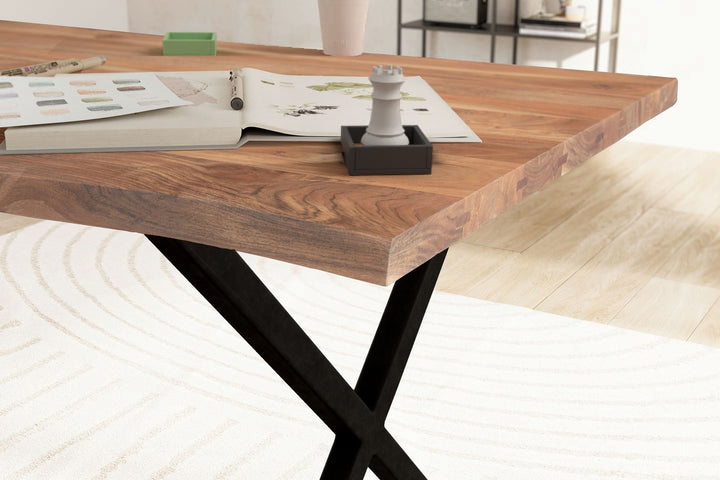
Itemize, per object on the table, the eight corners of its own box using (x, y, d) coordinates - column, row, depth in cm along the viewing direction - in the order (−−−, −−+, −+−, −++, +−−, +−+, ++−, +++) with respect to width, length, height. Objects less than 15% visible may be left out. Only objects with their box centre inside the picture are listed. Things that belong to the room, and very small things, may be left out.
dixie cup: (366, 59, 126) (368, -14, 122) (309, 56, 127) (309, -16, 123) (374, 49, 133) (376, -19, 130) (320, 47, 135) (320, -22, 131)
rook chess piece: (372, 166, 76) (375, 74, 73) (351, 152, 80) (353, 64, 77) (417, 161, 78) (422, 71, 75) (395, 148, 82) (399, 61, 79)
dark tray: (349, 175, 76) (349, 147, 75) (340, 151, 82) (340, 125, 81) (431, 174, 76) (433, 146, 76) (416, 150, 83) (417, 124, 82)
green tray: (163, 58, 123) (162, 40, 122) (167, 49, 130) (166, 32, 129) (215, 58, 124) (214, 40, 123) (217, 49, 131) (216, 32, 130)
